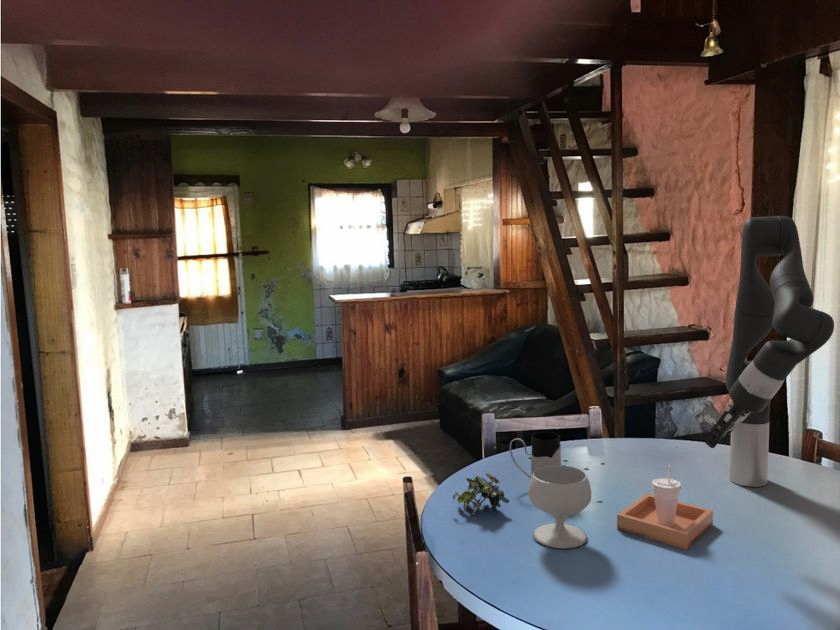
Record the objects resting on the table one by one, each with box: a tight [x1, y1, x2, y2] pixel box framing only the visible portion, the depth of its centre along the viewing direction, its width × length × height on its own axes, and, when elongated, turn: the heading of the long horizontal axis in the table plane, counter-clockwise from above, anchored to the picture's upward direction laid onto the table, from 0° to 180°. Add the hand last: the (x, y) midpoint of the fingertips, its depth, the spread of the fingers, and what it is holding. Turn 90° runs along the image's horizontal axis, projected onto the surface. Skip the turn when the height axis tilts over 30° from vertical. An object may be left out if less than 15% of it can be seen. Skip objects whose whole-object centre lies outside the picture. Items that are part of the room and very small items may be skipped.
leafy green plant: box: [452, 473, 510, 517], centre depth 163 cm, size 11×11×12 cm
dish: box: [616, 493, 714, 551], centre depth 151 cm, size 16×16×4 cm
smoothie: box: [651, 464, 682, 526], centre depth 150 cm, size 6×6×14 cm
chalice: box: [527, 464, 592, 549], centre depth 147 cm, size 14×14×15 cm
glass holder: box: [509, 431, 562, 480], centre depth 176 cm, size 9×14×15 cm, turn 71°
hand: (716, 438), depth 146 cm, fingers open, 8 cm apart
